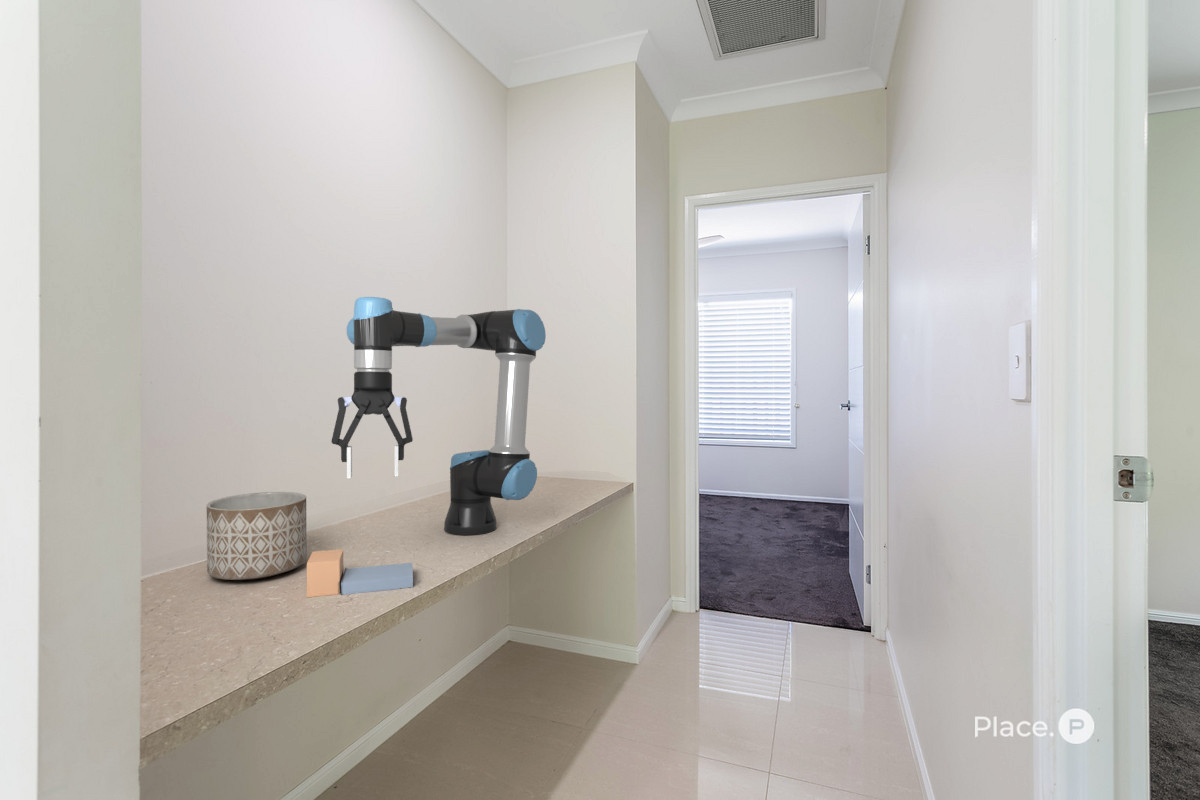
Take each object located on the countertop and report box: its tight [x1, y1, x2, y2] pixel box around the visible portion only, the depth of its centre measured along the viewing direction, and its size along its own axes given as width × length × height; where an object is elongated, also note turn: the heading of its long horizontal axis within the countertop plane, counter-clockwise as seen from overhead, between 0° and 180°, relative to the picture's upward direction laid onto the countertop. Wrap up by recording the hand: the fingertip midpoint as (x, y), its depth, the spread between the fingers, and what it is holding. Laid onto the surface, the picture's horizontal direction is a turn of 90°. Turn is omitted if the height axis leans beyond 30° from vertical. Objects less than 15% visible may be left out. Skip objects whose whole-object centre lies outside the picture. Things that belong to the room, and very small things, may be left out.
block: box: [306, 548, 344, 598], centre depth 118 cm, size 6×8×7 cm
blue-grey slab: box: [340, 562, 414, 596], centre depth 122 cm, size 14×9×3 cm, turn 109°
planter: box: [206, 491, 308, 581], centre depth 128 cm, size 19×19×16 cm
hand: (373, 476), depth 121 cm, fingers open, 9 cm apart
